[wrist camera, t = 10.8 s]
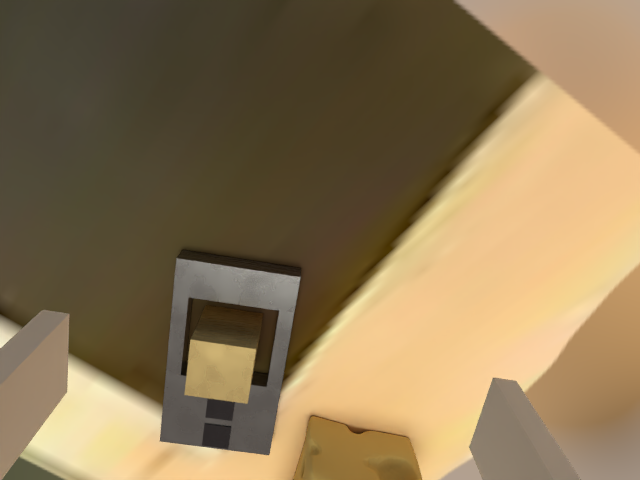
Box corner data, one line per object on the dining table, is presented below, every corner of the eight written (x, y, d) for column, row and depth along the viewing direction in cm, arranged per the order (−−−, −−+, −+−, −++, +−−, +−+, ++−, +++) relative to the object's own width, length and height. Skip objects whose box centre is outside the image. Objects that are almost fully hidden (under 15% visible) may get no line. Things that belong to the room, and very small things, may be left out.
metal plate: (182, 249, 42) (176, 258, 40) (300, 268, 43) (300, 277, 41) (165, 426, 48) (159, 442, 46) (270, 440, 48) (269, 455, 46)
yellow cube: (206, 304, 44) (190, 339, 38) (263, 313, 44) (256, 349, 39) (200, 354, 45) (184, 394, 40) (255, 362, 46) (247, 403, 40)
